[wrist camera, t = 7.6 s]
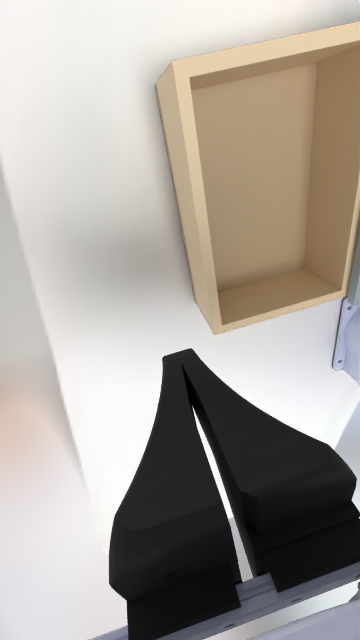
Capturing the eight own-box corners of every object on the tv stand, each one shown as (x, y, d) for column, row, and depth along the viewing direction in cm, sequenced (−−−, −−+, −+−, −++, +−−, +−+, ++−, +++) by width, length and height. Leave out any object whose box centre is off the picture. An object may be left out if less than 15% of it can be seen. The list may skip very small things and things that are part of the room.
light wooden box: (305, 270, 24) (347, 295, 19) (195, 301, 23) (214, 335, 19) (321, 49, 16) (396, 13, 12) (154, 85, 15) (172, 60, 11)
